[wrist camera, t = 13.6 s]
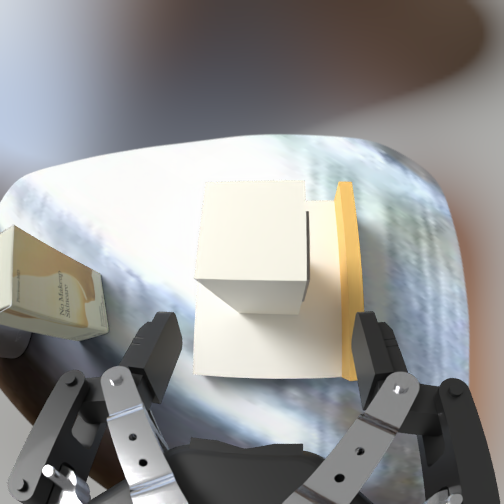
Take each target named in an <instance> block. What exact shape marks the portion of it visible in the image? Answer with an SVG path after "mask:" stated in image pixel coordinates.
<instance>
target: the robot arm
mask: <svg viewBox="0 0 504 504" xmlns="http://www.w3.org/2000/svg"><path fill="white" fill-rule="evenodd" d="M30 336H31V332H29V331H25V330H21V329H17V328H13V327H9V326H5V325H1V324H0V357H3V358H17V357H19V356H20V355H21V354H22V353H23V352H24V351H25V349H26V348H27V345H28V343H29V340H30ZM351 348H352V355H353V360H354V365H355V370H356V375H357V380H358V386H359V391H360V397H361V402H362V408H363V410H366V411H365V412H364V413H363V415H362V414H361V415H360V416H359V417H358V418H357V419H356V421H355V422H354V423H353V425H352V426H351V427H350V429H349V430H348V431H347V433H346V434H345V435H344V437H343V438H342V439H341V440H340V442H339V443H338V444H337V446H336V447H335V448H334V449H333V450H332V452H331V453H330V454H329V455H328V457H327V458H326V459H324V458H323V457H321V456H319V455H317V454H314V453H311V452H307V451H303V444H272V445H266V446H261V447H255V448H249V449H243V448H240V447H236V446H233V445H230V444H227V443H223V442H220V441H217V440H208V439H199V438H192V437H191V441H190V444H188V445H182V446H178V447H175V448H172V449H169V447H168V446H167V444H166V442H165V440H164V438H163V436H162V434H161V432H160V430H159V428H158V425H157V423H156V421H155V419H154V417H153V414H152V412H151V410H150V406H151V404H152V403H158V404H161V402H162V399H163V397H164V394H165V391H166V389H167V386H168V383H169V381H170V378H171V376H172V373H173V370H174V368H175V365H176V363H177V360H178V358H179V355H180V352H181V350H182V336H181V332H180V329H179V325H178V322H177V318H176V315H175V313H174V312H157V313H156V315H155V317H154V319H153V320H152V322H147V323H146V324H144V325H143V326H142V327H141V328H140V329H139V331H138V332H137V334H136V336H135V338H134V339H133V341H132V344H131V345H130V346H129V348H128V350H127V352H126V353H125V355H124V357H123V359H122V361H121V362H120V364H119V366H115V367H112V368H110V369H108V370H107V371H105V372H104V374H103V375H102V377H96V378H85V376H84V374H83V373H82V372H81V371H79V370H71V371H68V372H66V373H64V374H63V375H62V376H61V377H60V379H59V380H58V382H57V384H56V385H55V387H54V389H53V391H52V392H51V394H50V396H49V398H48V400H47V401H46V403H45V405H44V407H43V409H42V411H41V412H40V414H39V416H38V418H37V420H36V422H35V424H34V426H33V428H32V430H31V432H30V434H29V436H28V438H27V440H26V442H25V444H24V446H23V448H22V450H21V452H20V454H19V456H18V459H17V461H16V463H15V465H14V467H13V470H12V472H11V474H10V477H9V479H8V489H9V492H10V494H11V495H12V497H14V498H15V499H16V500H18V501H19V502H21V503H23V504H373V503H372V502H371V501H370V500H369V499H368V498H367V497H365V496H364V495H363V494H362V493H361V492H360V491H359V490H360V489H361V488H362V486H363V485H364V484H365V482H366V481H367V479H368V478H369V476H370V475H371V474H372V472H373V471H374V469H375V468H376V466H377V465H378V463H379V462H380V460H381V459H382V457H383V455H384V454H385V452H386V451H387V449H388V447H389V446H390V444H391V442H392V441H393V439H394V437H395V436H396V434H397V432H400V433H408V434H416V435H417V439H418V445H419V451H420V457H421V464H422V471H423V479H424V488H425V498H426V501H425V502H423V503H422V504H500V499H499V493H498V488H497V483H496V478H495V473H494V469H493V465H492V461H491V457H490V453H489V449H488V445H487V441H486V438H485V435H484V431H483V428H482V425H481V422H480V419H479V415H478V412H477V409H476V407H475V404H474V401H473V398H472V396H471V392H470V390H469V388H468V386H467V385H466V383H464V382H463V381H461V380H459V379H456V378H450V379H446V380H444V381H443V382H442V383H441V385H440V386H431V385H424V384H420V383H419V382H418V380H417V379H416V378H415V377H414V376H413V375H411V374H409V373H408V371H407V369H406V366H405V363H404V360H403V357H402V354H401V352H400V349H399V347H398V344H397V341H396V340H395V336H394V333H393V330H392V329H391V328H390V327H389V326H388V325H387V324H386V323H385V322H379V323H378V322H377V319H376V316H375V313H374V312H373V311H369V312H357V313H356V316H355V322H354V328H353V334H352V341H351ZM77 414H79V415H78V417H77V419H76V421H75V424H74V426H73V428H72V425H73V423H74V420H75V418H76V416H77ZM107 423H108V426H109V430H110V433H111V436H112V439H113V443H114V446H115V449H116V452H117V455H118V458H119V460H120V463H121V466H122V469H123V471H124V474H125V477H126V479H124V480H123V481H121V482H119V483H118V484H116V485H115V486H113V487H111V488H110V489H108V490H107V491H105V492H103V493H102V494H100V495H98V496H97V497H95V498H93V499H92V500H91V497H90V495H89V494H90V490H89V486H88V484H87V483H86V481H87V478H88V475H89V472H90V469H91V466H92V463H93V461H94V458H95V455H96V452H97V450H98V447H99V444H100V442H101V439H102V436H103V434H104V431H105V429H106V426H107Z"/></svg>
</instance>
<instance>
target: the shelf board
mask: <svg viewBox="0 0 504 504" xmlns="http://www.w3.org/2000/svg"><path fill="white" fill-rule="evenodd" d="M306 211H309V230H310V282H309V286H308V289H307V293H306V296H305V300H304V302H302V303H301V307H300V311H299V315H285V314H248V313H238V312H237V311H236V310H234V309H233V308H232V307H230V306H229V305H228V304H226V303H225V302H224V301H222V300H221V299H220V298H219V297H217V296H216V295H215V294H213V293H212V292H211V291H210V290H208V289H207V288H206V287H204V286H203V285H202V284H201V283H199V282H198V281H197V295H196V311H195V331H194V355H193V374H194V375H206V376H220V377H237V378H267V379H304V378H334V377H343V378H345V379H347V380H349V381H356V380H357V375H356V370H355V365H354V360H353V355H352V348H351V341H352V334H353V328H354V322H355V316H356V313H357V312H364V298H363V281H362V267H361V255H360V244H359V234H358V225H357V217H356V209H355V201H354V194H353V187H352V182H339V183H338V187H337V191H336V195H335V199H334V201H306Z"/></svg>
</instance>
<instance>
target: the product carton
mask: <svg viewBox="0 0 504 504" xmlns="http://www.w3.org/2000/svg"><path fill="white" fill-rule="evenodd" d="M194 279H196V280H197V281H198V282H199V283H201V284H202V285H203V286H204V287H206V288H207V289H208V290H210V291H211V292H212V293H213V294H215V295H216V296H217V297H219V298H220V299H221V300H222V301H224V302H225V303H226V304H228V305H229V306H230V307H232V308H233V309H234V310H236V311H237V312H238V313H248V314H285V315H299V311H300V307H301V303H302V302H304V300H305V296H306V293H307V289H308V286H309V282H310V230H309V211H306V196H305V181H299V180H284V181H232V182H208V183H206V184H205V192H204V199H203V207H202V214H201V222H200V231H199V239H198V248H197V257H196V267H195V277H194Z"/></svg>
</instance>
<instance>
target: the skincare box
mask: <svg viewBox="0 0 504 504" xmlns="http://www.w3.org/2000/svg"><path fill="white" fill-rule="evenodd" d="M0 324H1V325H5V326H9V327H13V328H17V329H21V330H25V331H29V332H34V333H39V334H43V335H48V336H53V337H58V338H64V339H69V340H75V341H81V340H85V339H89V338H93V337H96V336H100V335H103V334H106V333H108V332H109V328H108V321H107V314H106V308H105V301H104V294H103V288H102V281H101V275H100V273H98V272H96V271H94V270H93V269H91V268H89V267H87V266H85V265H83V264H81V263H79V262H77V261H76V260H74V259H72V258H70V257H68V256H66V255H65V254H63V253H61V252H59V251H57V250H56V249H54V248H52V247H50V246H48V245H47V244H45V243H43V242H42V241H40V240H38V239H37V238H35V237H33V236H31V235H30V234H28V233H26V232H25V231H23V230H21V229H20V228H18V227H17V226H15V225H12V226H11V227H9V228H8V229H6V230H4V231H3V232H1V233H0Z"/></svg>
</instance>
